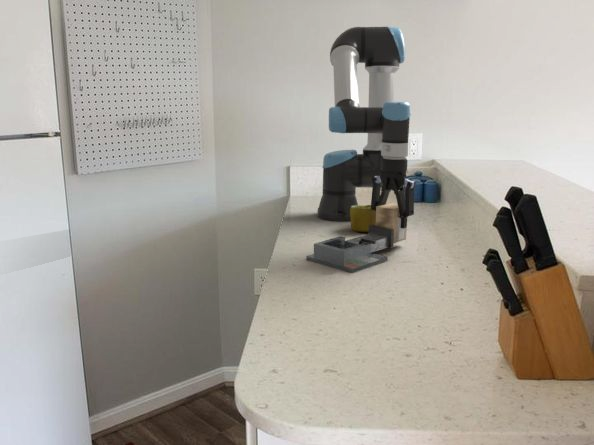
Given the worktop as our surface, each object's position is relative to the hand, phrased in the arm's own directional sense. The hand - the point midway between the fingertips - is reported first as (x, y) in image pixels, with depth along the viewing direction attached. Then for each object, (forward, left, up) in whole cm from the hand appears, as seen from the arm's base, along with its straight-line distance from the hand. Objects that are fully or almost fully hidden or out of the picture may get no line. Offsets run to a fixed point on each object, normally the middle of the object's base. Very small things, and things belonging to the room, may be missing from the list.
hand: (390, 236), depth 172 cm
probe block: (0, 0, -1) cm, 1 cm away
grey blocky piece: (+1, -11, -2) cm, 11 cm away
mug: (-18, +11, -3) cm, 21 cm away
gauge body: (0, -19, -3) cm, 19 cm away
